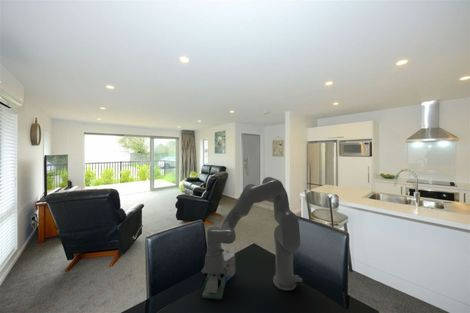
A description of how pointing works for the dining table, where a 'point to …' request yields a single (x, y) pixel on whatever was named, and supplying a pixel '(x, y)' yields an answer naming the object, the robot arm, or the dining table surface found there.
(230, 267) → the ink box
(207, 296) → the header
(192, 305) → the dining table surface
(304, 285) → the dining table surface
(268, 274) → the dining table surface
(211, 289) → the white switch box
